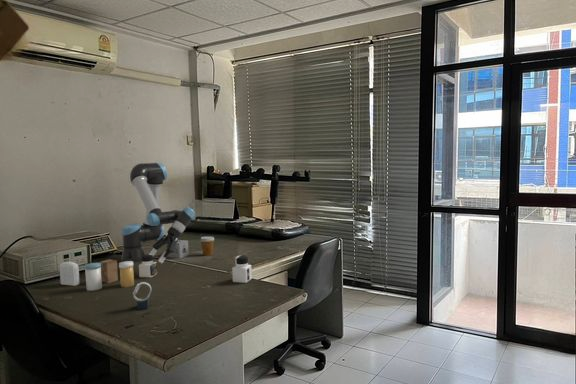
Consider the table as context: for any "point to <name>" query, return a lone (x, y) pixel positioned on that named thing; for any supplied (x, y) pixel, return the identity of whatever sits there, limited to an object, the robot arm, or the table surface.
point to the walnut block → (109, 271)
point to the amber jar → (126, 273)
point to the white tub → (93, 276)
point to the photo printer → (69, 273)
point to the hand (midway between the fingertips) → (154, 260)
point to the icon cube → (180, 249)
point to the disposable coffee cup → (207, 245)
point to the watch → (142, 302)
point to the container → (242, 270)
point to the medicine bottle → (147, 266)
